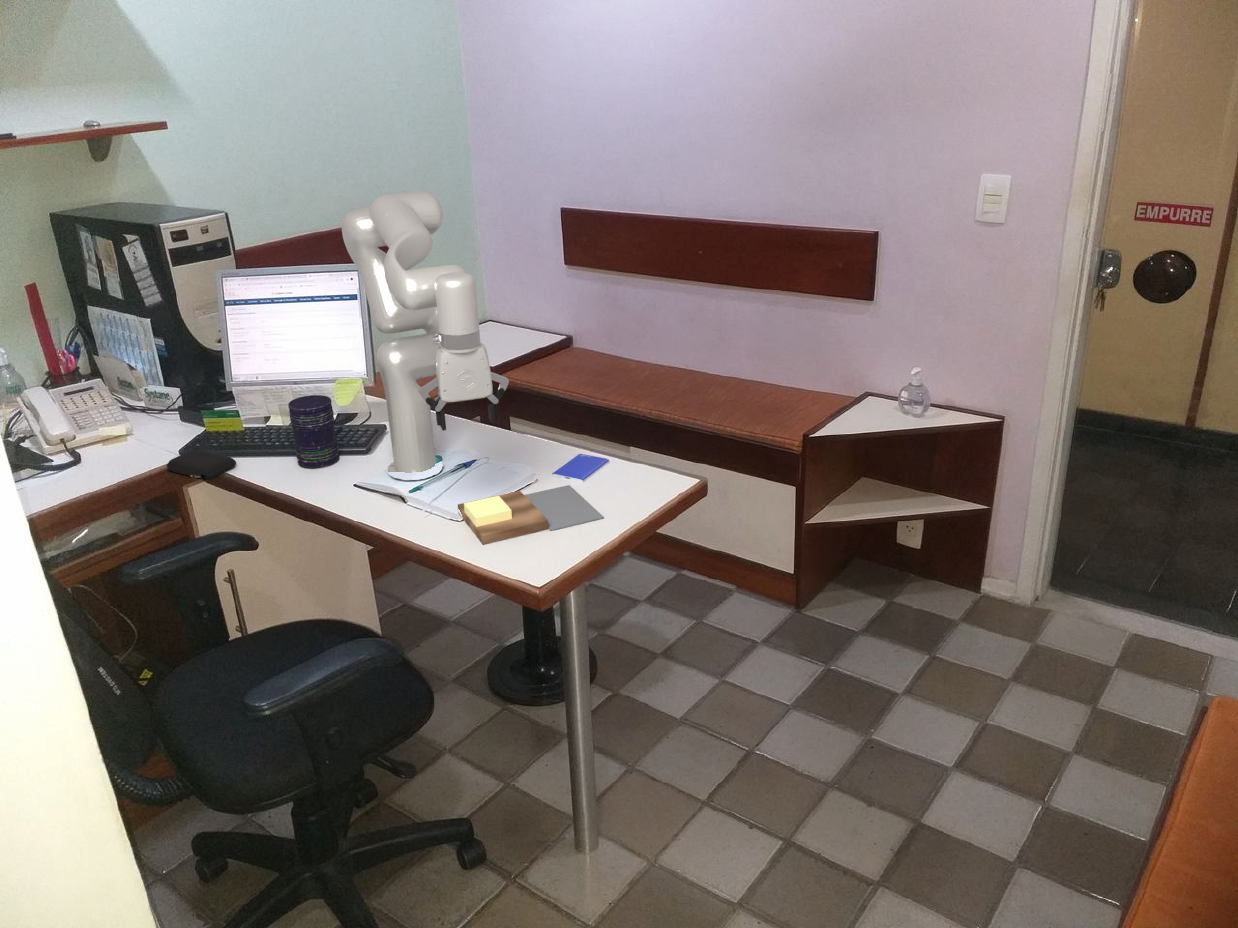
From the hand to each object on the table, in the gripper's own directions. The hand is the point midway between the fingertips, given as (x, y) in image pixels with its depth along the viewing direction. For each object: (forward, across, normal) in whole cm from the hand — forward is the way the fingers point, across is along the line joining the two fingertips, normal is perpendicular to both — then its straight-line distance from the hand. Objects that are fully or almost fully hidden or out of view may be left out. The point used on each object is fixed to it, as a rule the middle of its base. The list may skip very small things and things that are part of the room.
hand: (467, 424), depth 189 cm
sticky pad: (+21, +3, +1) cm, 21 cm away
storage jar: (+22, -29, +48) cm, 60 cm away
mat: (+23, +18, +3) cm, 29 cm away
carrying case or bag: (+23, -55, +53) cm, 80 cm away
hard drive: (+23, +28, +20) cm, 42 cm away
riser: (+23, +6, +1) cm, 23 cm away
